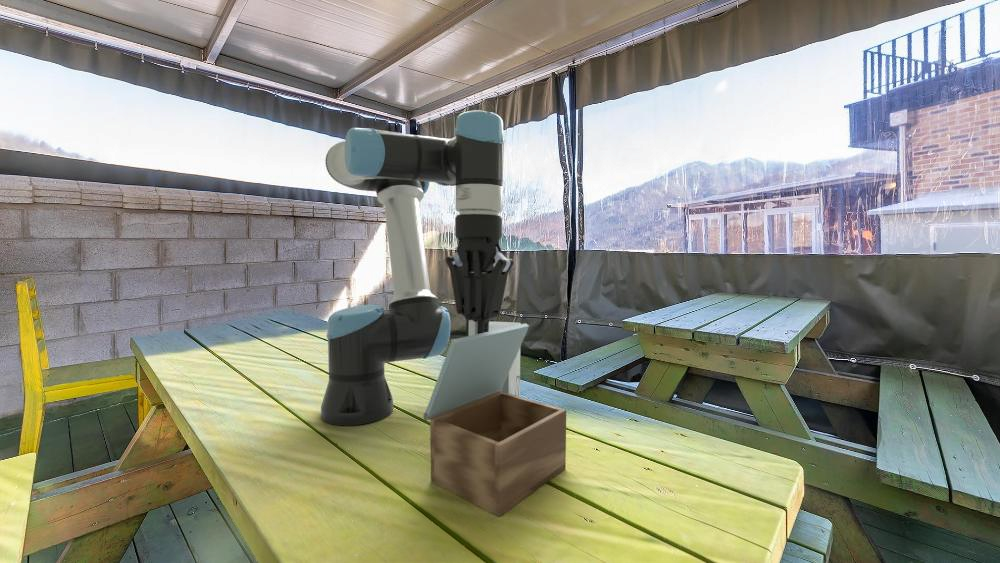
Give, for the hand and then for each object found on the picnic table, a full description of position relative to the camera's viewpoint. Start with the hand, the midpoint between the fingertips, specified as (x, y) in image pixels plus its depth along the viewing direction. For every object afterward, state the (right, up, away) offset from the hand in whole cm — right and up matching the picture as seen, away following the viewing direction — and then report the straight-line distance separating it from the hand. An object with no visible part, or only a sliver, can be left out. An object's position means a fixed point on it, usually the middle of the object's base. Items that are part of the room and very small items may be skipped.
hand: (477, 358), depth 72 cm
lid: (+1, -2, 0) cm, 2 cm away
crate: (+4, -18, -2) cm, 19 cm away
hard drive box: (+3, -17, +21) cm, 27 cm away
